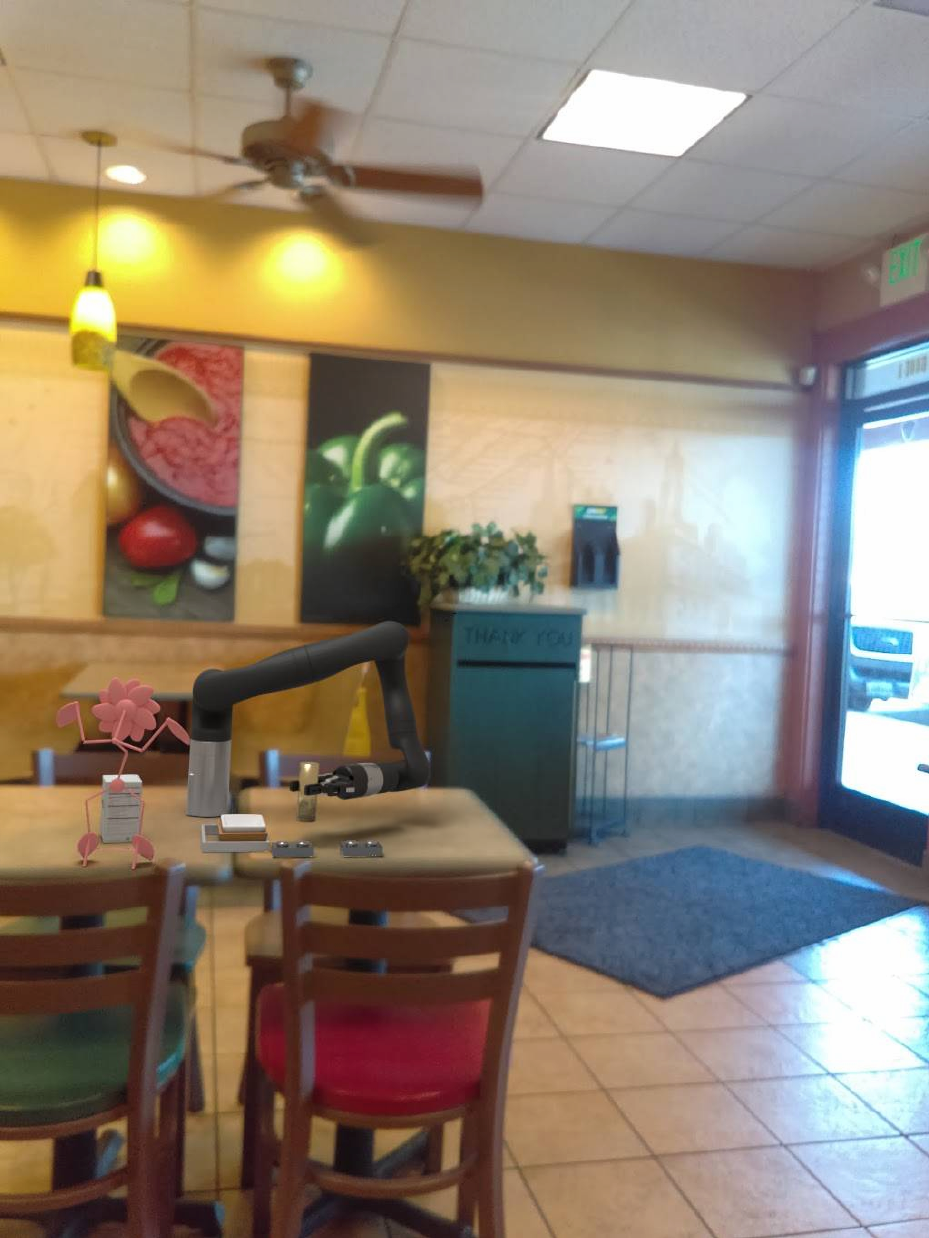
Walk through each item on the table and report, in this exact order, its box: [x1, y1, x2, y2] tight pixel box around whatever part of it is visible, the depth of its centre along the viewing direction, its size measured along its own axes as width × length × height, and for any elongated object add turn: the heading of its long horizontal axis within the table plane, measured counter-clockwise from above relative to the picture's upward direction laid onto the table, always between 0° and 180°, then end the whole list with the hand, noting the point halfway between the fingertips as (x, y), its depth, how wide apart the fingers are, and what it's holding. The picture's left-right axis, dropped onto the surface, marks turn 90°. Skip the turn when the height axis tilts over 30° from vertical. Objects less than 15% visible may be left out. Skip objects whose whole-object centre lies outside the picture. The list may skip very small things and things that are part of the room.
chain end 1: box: [270, 840, 315, 858], centre depth 214 cm, size 8×4×3 cm, turn 105°
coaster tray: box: [200, 823, 270, 853], centre depth 221 cm, size 13×15×2 cm
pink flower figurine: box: [55, 677, 191, 870], centre depth 204 cm, size 15×26×35 cm, turn 91°
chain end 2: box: [339, 839, 383, 857], centre depth 218 cm, size 8×4×3 cm, turn 105°
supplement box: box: [99, 774, 143, 844], centre depth 219 cm, size 7×7×13 cm
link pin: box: [295, 761, 320, 823], centre depth 223 cm, size 4×4×12 cm
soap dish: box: [217, 813, 269, 842], centre depth 221 cm, size 12×10×5 cm
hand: (298, 788), depth 221 cm, fingers closed on link pin, 4 cm apart
